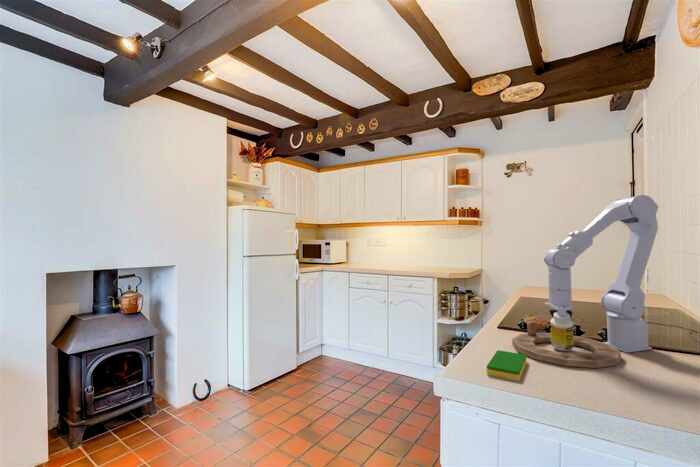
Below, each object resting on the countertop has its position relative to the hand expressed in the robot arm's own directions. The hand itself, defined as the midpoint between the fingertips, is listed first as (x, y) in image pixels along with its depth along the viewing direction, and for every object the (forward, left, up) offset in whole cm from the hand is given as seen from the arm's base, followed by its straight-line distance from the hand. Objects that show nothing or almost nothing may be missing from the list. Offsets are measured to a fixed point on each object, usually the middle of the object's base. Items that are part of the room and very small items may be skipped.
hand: (561, 335), depth 99 cm
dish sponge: (+26, +8, -4) cm, 28 cm away
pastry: (-11, -20, -4) cm, 23 cm away
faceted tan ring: (+3, +3, -3) cm, 6 cm away
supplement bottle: (+2, +2, -3) cm, 4 cm away
